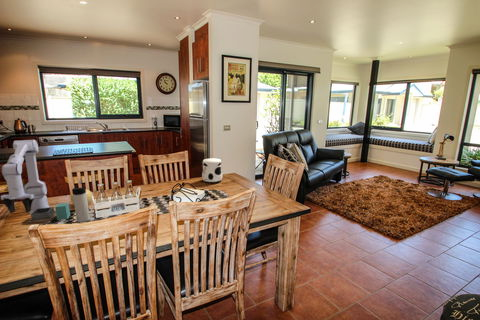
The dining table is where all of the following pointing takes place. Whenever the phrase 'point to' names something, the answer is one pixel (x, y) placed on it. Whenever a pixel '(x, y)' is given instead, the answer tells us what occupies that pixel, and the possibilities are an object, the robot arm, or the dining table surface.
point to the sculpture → (89, 197)
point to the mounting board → (41, 220)
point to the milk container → (212, 170)
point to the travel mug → (81, 204)
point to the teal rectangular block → (62, 211)
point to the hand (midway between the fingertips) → (20, 212)
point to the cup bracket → (42, 213)
